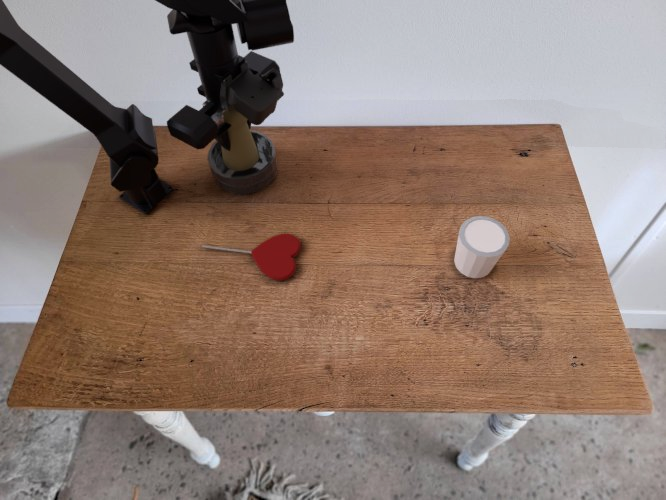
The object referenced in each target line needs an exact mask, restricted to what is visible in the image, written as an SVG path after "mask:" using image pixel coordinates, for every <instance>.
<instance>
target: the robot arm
mask: <svg viewBox="0 0 666 500" xmlns="http://www.w3.org/2000/svg"><path fill="white" fill-rule="evenodd" d="M154 1H156V2H157V3H158V4H161V5H162V6H164V7H166V8H167V9H171V10H170V12H168V14H167V16H166V18H167V24H168V29H169V30H168V31H169V33H170V34H171V35H179V34H185V33H186V36H187V38H188V43H189V46H190V48H191V53H192V56H193V59H192V60H191V61H190V62H189V63H188V64H189V67H190V70H191V71H194V72H196V73H198V76H199V79H200V83H201V84H200V85H199V86H198V87H197V88H196V89H197V93H198V95H200V96H201V97H203V98H205V99H206V100H205V101H203V102H202V104H201V105H202V107H201V108H200V109H199V110H198V109H196V108H194V107H192V106H191V105H188V104H185V105H184V106H183V107H182V108H181V109H179V110H178V111H177V112H176V113H175V114H174V115H172V116H171V117H169V119H167V121H166V127H167V129H168V132H169V135H170V136H171V137H173V138H175V139H177V140H178V141H181V142H182V143H184V144H187V145H189V146H190V147H192V148H194V149H196V150H203V149H205V148H206V147H207V146H208V145H209V144H210V143H212V142H213V141H214V140H215V141H217V142H218V143H219V144H220V145H221V146H222V147H223V148H224V149H226V150H228V151H230V147H231V143H230V139H229V135H228V131H227V130H228V129H229V128H230V127H231V126H232V125H231V124H229V123H227V122H225V121H224V119H223V113H224V112H225V111H226V110H227V111H230V110H231V109H232V108H233V107H234V109H235V110H236V111H238V112H239V113H240V114H241V115H243V116H244V117H245V118H247V119H248V120H247V124H248V127H249V129H250V130H251V129H252V128H251V127H252V125H254V126H260V125H262V124H263V123H264V122H265V120H266V119H268V118H269V117H270V116H271V115H272V114H273V113H274V112H275V111H276V109H277V105H278V102H279V101H280V100H281V99H282V97H284V95H285V93H284V91H283V89H284V82H283V78H282V74H281V68H280V65H279V64H278V63H277V61H276V60H274V59H272V58H269V57H266V56H264V55H262V54H259V53H257V52H255V51H257V50H262V49H263V50H264V49H269V48H274V47H278V46H284V45H288V44H289V45H290V44H293V43H294V42H295V32H294V25H293V23H292V21H291V15H290V11H289V6H288V4H287V0H154ZM233 25H236V28H237V32H238V36H239V40H240V44H241V45H245V44H246V47H247V50H248V51H249V52H248V53H247V54H245V55H244V56H242V55H239V52H238V48H237V44H236V43H237V42H236V39H235V34H234V33H235V32H234V28H233ZM0 66H1V67H2V68H4V69H6V71H8V72H9V73H11V74H12V75H13V76H14V77H16V78H18V80H20V81H22V82H23V83H24V84H26V85H27V86H28V87H30V88H31V89H32V90H34V91H35V92H36V93H38V94H39V95H40V96H42V97H43V98H44V99H46V100H47V101H48V102H50V103H51V104H52V105H54V106H55V107H57V108H58V109H59V110H60V111H62V112H63V113H64V114H65V115H66V116H69V117H70V118H71V119H72V120H74V121H75V122H76V123H78V124H79V125H80V126H81V127H83V128H84V129H86V130H87V131H89V132H90V133H91V134H93V136H94V137H95V138H96V140H97V141H98V143H99V144H100V146H101V148H102V149H103V151H104V153H105V154H106V155H107V157H108V158H109V172H110V173H109V174H110V185H111V187H113V188H114V189H115V190H117V191H118V192H120V193H121V192H122V193H121V194H120V195H119V196H118V198H119V199H120V200H121V201H122V202H123V203H125V204H127V205H128V206H131V207H132V208H134V209H136V211H138V212H141V213H143V214H144V215H149V214H150V213H151V212H152V211H153V210H154V209H156V208H157V207H158V206H159V205H160V204H161V203H162V202H164V200H166V198H167V197H169V195H171V193H173V192H174V189H175V188H174V186H172V185H171V184H169V183H168V182H165V181H164V180H162V179H160V177H159V175H158V173H157V170H156V168H157V166H158V164H159V152H158V143H157V135H156V129H155V127H154V123H153V118H152V117H149V116H147V115H145V113H143V112H142V111H141V110H140V109H139V107H138V106H137V105H136V104H134V103H131V104H130V105H129V106H128V107H127V108H123V107H119V106H115V105H114V104H112V103H111V102H110V101H108V100H107V99H106V98H104V96H102V95H101V93H99V92H97V91H96V90H95V89H94V88H93V87H91V86H90V84H89V83H87V82H86V81H85V80H83V79H82V78H81V77H80V76H79V75H77V74H76V73H75V72H74V71H73V70H71V69H70V68H69V67H67V65H66V64H64V63H63V62H62V61H61V60H60V59H58V58H57V57H56V56H55V55H53V54H52V53H51V52H50V51H49V50H47V48H45V47H44V46H43V45H42V44H40V42H38V41H37V40H36V39H35V38H33V37H32V36H31V35H30V34H29V33H27V32H26V31H25V30H24V29H23V28H22V27H21V26H20V25H19V23H18V22H17V20H16V19H15V18H14V16H13V14H12V13H11V11H10V10H9V8H8V7H7V5H6V3H5V2H4V0H0Z"/></svg>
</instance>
